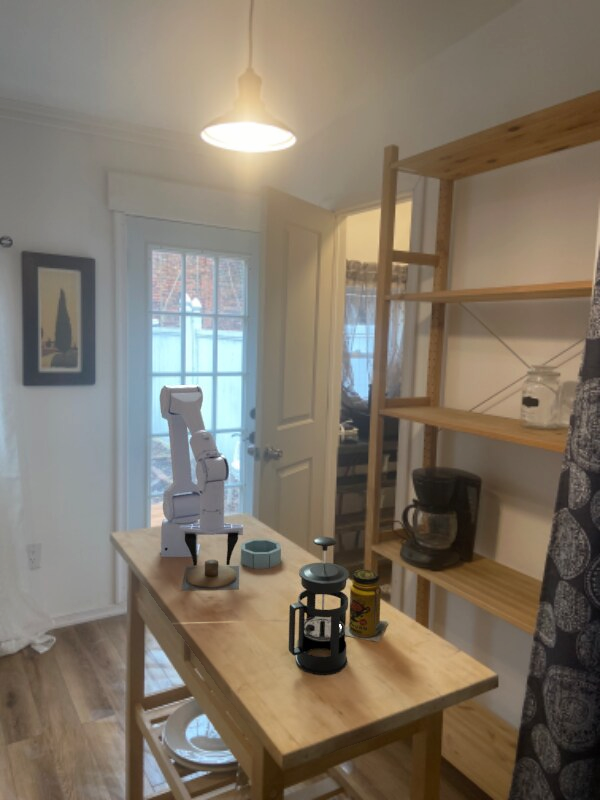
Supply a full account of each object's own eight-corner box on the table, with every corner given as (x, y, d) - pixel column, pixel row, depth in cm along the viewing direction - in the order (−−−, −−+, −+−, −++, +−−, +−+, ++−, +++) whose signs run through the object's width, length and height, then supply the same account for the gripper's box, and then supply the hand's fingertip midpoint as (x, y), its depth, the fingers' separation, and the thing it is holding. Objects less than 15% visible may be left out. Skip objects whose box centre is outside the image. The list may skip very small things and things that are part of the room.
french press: (333, 641, 116) (337, 526, 113) (360, 666, 107) (365, 543, 104) (278, 656, 110) (281, 535, 107) (302, 683, 102) (306, 554, 99)
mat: (181, 591, 135) (181, 590, 135) (186, 567, 148) (186, 566, 148) (238, 590, 136) (238, 589, 136) (239, 567, 149) (238, 565, 149)
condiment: (342, 635, 118) (344, 577, 117) (353, 616, 126) (355, 561, 124) (378, 643, 116) (381, 584, 114) (387, 622, 124) (390, 567, 122)
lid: (184, 588, 136) (184, 572, 135) (188, 568, 147) (188, 553, 147) (236, 587, 137) (236, 571, 137) (235, 567, 148) (236, 552, 148)
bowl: (241, 569, 148) (241, 554, 147) (240, 553, 158) (241, 539, 157) (281, 568, 149) (281, 553, 148) (278, 553, 159) (279, 538, 158)
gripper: (178, 513, 135) (178, 571, 137) (243, 513, 137) (242, 570, 138) (181, 504, 142) (181, 559, 144) (243, 503, 144) (242, 558, 145)
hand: (211, 563), depth 142 cm, fingers open, 7 cm apart
